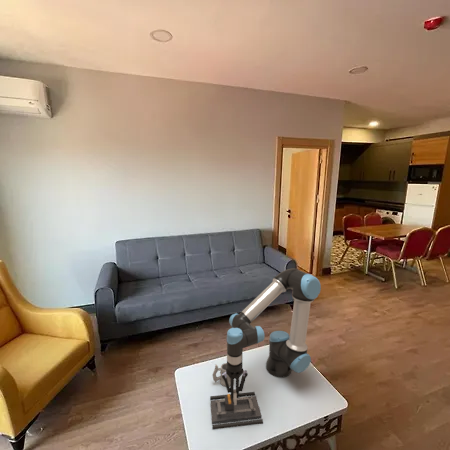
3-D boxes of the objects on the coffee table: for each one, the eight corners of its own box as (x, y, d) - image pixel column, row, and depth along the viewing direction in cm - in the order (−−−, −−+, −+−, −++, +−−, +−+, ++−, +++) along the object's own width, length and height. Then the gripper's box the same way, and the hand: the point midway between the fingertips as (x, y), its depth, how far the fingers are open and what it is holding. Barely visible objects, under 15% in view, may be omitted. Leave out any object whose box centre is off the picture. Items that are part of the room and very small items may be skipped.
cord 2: (262, 421, 124) (262, 419, 124) (263, 423, 123) (263, 421, 123) (212, 427, 121) (212, 424, 121) (212, 429, 120) (212, 427, 120)
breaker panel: (255, 398, 137) (255, 393, 137) (261, 418, 126) (261, 413, 125) (210, 403, 135) (210, 397, 134) (212, 424, 123) (212, 418, 122)
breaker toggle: (232, 403, 132) (232, 393, 131) (234, 412, 127) (233, 401, 126) (224, 404, 132) (224, 394, 131) (225, 413, 127) (225, 402, 126)
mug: (234, 386, 146) (234, 367, 144) (213, 389, 143) (213, 370, 141) (231, 376, 153) (231, 357, 151) (211, 379, 151) (211, 360, 149)
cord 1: (254, 393, 140) (254, 391, 140) (254, 395, 139) (255, 393, 139) (210, 398, 138) (210, 396, 137) (210, 400, 136) (210, 398, 136)
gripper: (246, 354, 130) (246, 395, 134) (220, 356, 128) (220, 398, 132) (249, 364, 122) (249, 407, 126) (222, 366, 121) (222, 410, 125)
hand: (234, 402), depth 129 cm, fingers closed
